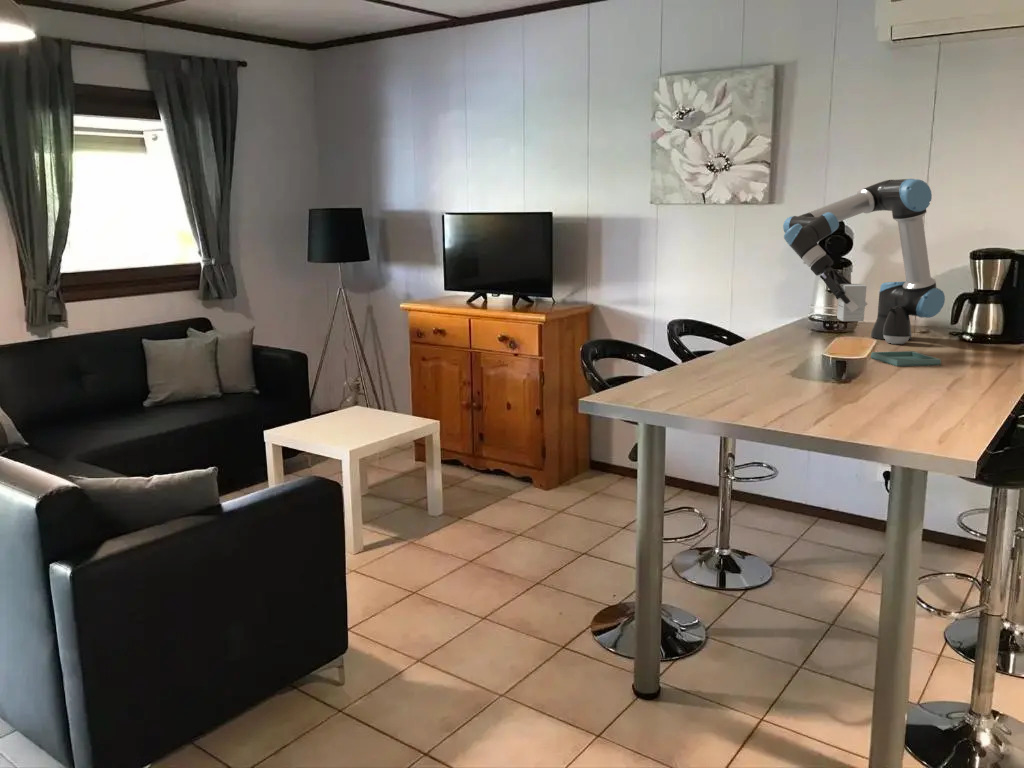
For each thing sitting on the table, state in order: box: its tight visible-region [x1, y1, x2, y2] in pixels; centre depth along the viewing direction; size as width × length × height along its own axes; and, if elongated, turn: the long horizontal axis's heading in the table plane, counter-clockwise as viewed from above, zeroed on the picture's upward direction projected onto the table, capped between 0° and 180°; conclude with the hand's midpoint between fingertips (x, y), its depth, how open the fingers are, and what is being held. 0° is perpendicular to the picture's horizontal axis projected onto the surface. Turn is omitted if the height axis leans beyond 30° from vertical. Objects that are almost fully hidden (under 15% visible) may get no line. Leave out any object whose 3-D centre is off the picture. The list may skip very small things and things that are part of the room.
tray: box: [870, 350, 942, 367], centre depth 291 cm, size 16×16×2 cm
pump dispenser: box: [883, 305, 912, 345], centre depth 327 cm, size 10×10×15 cm
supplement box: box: [836, 283, 867, 322], centre depth 295 cm, size 7×7×13 cm
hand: (860, 308), depth 293 cm, fingers closed on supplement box, 10 cm apart
